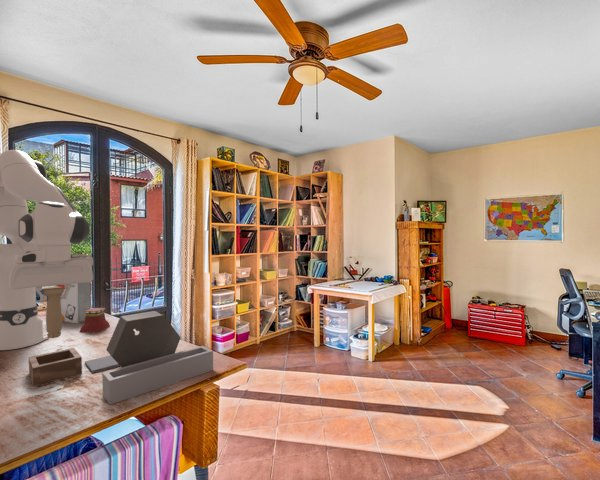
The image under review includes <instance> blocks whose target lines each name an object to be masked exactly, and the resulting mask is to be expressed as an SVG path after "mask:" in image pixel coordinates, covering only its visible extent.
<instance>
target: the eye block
mask: <svg viewBox="0 0 600 480" xmlns="http://www.w3.org/2000/svg"><path fill="white" fill-rule="evenodd" d="M82 359H83V357H82V355H81V354H80V353H79V352H78V351H77V350H76V348H75V347H72V348H71V347H70V348H67V349H62V350H57V351H51V352H47V353H43V354H37V355H33V356H28V374H29V378H30V380H31V383H32V386H33V387H34V386H38V385H42V384H46V383H49V382H53V381H57V380H61V379H65V378H68V377H74V376H77V375H81V374H83V363H82V362H83V361H82Z"/></svg>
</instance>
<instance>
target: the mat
mask: <svg viewBox="0 0 600 480" xmlns="http://www.w3.org/2000/svg"><path fill="white" fill-rule="evenodd" d="M84 365H85V366H86V367H87V369H88V370H89V371H90V372H91V374H94V373H98V372H102V371H105V370H107V371H108V370H111V369H114V368H116V367H117V368H119V367H121V366H120V365H119V364H118V363H117V362H116V361H115V360H114V359H113V358H112V356H111V355H110V354H109V355H105V356H101V357H99V358H98V357H97V358H95V359H89V360H85V361H84Z"/></svg>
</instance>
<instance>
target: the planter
mask: <svg viewBox="0 0 600 480" xmlns="http://www.w3.org/2000/svg"><path fill="white" fill-rule="evenodd" d="M135 331H136V332H139V333H138V334H136V332H135ZM180 340H181V335H180V334H179V332H177V331H176V329H175V328H174V327H173V326H172V324H171V323H170V322H169V320H167V318H166V317H165V315H164V314H161V313H160V312H158V311H156V310H152V311H146V312H145V311H144V312H140V313H134V314H133V313H132V314H128V315H122V316H120V317H119V319H118V322H117V324H116V326H115V328H114V331H113V333H112V335H111V337H110V340H109V342H108V345H107V347H106V351H107V353H108V354H109V356H110V355H111V356H112V358H113V359H114V360H115V361H116V362H117V363H118V364H119V365H120V366H119V367H120V368H122V367H126V366H129V365H133V364H137V363H141V362H144V361H148V360H152V359H155V358H159V357H163V356H167V355H170V354H174V353H176V351H177V348H178V347H179V346H178V345H179V343H180Z"/></svg>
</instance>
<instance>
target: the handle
mask: <svg viewBox="0 0 600 480" xmlns="http://www.w3.org/2000/svg"><path fill="white" fill-rule="evenodd" d="M63 292H64V287H54V286H46V287H43V288H42V294H43V295H46V296H47V301H46V310H45V311H46V312H45V327H46V332H47V333H46V335H47V337H48V338H49V339H56V338H59V337H61V335H62V328H63V327H62V326H63V324H62V323H63V321H62V312H61V300H60V295H61V294H62V293H63Z"/></svg>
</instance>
